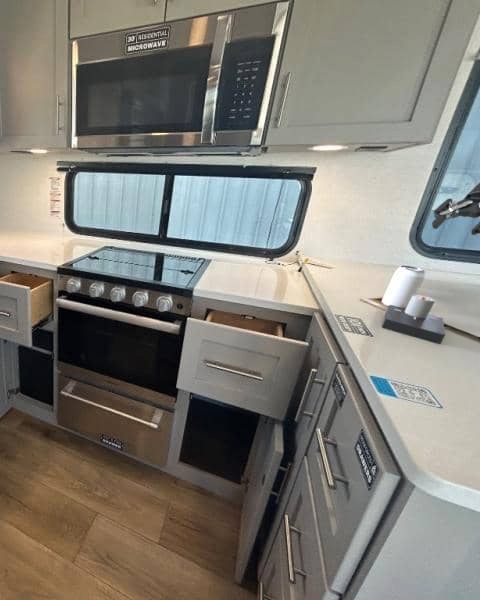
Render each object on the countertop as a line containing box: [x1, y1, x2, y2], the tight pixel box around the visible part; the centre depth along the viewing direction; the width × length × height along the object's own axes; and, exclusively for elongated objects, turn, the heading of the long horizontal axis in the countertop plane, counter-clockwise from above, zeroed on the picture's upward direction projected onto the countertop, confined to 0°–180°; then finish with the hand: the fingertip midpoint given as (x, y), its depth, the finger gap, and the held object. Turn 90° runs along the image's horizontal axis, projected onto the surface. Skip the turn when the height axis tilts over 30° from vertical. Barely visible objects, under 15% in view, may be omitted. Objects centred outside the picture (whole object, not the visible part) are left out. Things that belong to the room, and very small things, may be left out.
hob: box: [381, 305, 446, 345], centre depth 88 cm, size 15×11×3 cm
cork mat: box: [359, 297, 389, 312], centre depth 101 cm, size 12×12×1 cm
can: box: [381, 265, 426, 309], centre depth 98 cm, size 6×6×12 cm
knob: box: [405, 294, 436, 318], centre depth 88 cm, size 4×4×5 cm
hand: (453, 229), depth 96 cm, fingers open, 8 cm apart
